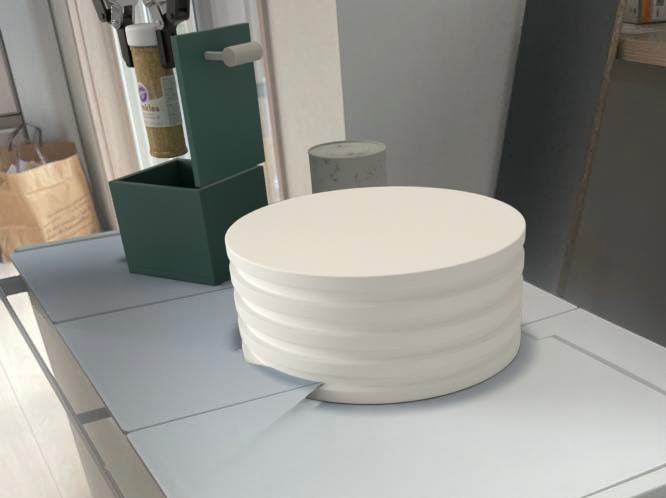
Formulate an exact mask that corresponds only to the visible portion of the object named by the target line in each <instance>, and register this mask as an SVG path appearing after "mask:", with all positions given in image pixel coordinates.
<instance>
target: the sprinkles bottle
mask: <svg viewBox="0 0 666 498" xmlns="http://www.w3.org/2000/svg"><path fill="white" fill-rule="evenodd" d="M156 30H159V29H157V27H156V26H155V23H154V22H139V23H135V24H132V25H128V26H126V27H125V31H126V37H127V42H128V45H129V46H130V50H131V52H132V57H133V62H134V72H135V77H136V82H137V90H138V95H139V101H140V106H141V112H142V118H143V122H144V123H143V124H144V126H145V129H146V135H147V141H148V145H149V146H148V147H149V154H150V156H151V157H153V158H156V159H175V158H179V157H182V156H185V155H187V154H188V152H189V149H188V147H187V142H186V137H185V131H184V124H183V115H182V110H181V104H180V99H179V98H180V97H179V91H178V88H177V81H176V75H175V72H174V68H172V69H164V68H163V67H162V64H161V58H160V53H159V47H158V42H157V37H156Z"/></svg>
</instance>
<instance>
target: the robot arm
mask: <svg viewBox="0 0 666 498" xmlns="http://www.w3.org/2000/svg"><path fill="white" fill-rule="evenodd" d="M91 2H92V4H93V8H94V10H95V12H96V15H97V17H98V19H99V21H100V22H101V23H108V24H109V25H112V27H113V29H115V30H116V33H117V38H118V43H119V49H120V53H121V58H122V60H123V61H124V62H125V65H126V67H127V68H130V69H131V68H132V69H133V68H134V62H133V57H132V52H131V50H130V46H129V45H128V42H127V37H126V31H125V27H126V26H128V25H132V24H136V6H137V5H138V3H139V0H91ZM141 2H142V4H143V6H144V7H146V8H147V9H148V11H149V14H150V16H151V19H152V21H153V23H155V26H156V27H157V29H159V30H156V37H157V42H158V47H159V53H160V58H161V64H162V67H163V68H164V69H172V68H173V69H176V67H175V62H174V56H173V50H172V44H171V38H170V36H175V35H178V30H177V27H178V26H179V25H180V24H181V23H184V22H185V21H186V22H187V21H188V20H190V17H191V16H190V14H191V0H141ZM134 69H135V68H134Z"/></svg>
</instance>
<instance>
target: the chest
mask: <svg viewBox="0 0 666 498" xmlns="http://www.w3.org/2000/svg"><path fill="white" fill-rule="evenodd" d="M265 175H266V174H265V168H264V165H261V164H258V165H256V166H253V167H251V168H248V169H246V170H243V171H241V172H238V173H236V174H233V175H231V176H228V177H226V178H223V179H221V180H218V181H215V182H213V183H210V184H208V185H205V186H203V187H196V185H195V179H194V173H193V167H192V161H191V158H181V157H174V158H171V159H169V160H167V161H164V162H160V163H158V164H154V165H151V166H149V167H146V168H144V169H141V170H138V171H135V172H132V173H129V174H126V175H122V176H120V177H117V178H115V179H112V180H109V181H107V183H108V188H109V192H110V196H111V201H112V205H113V210H114V213H115V217H116V222H117V226H118V231H119V235H120V239H121V243H122V247H123V251H124V255H125V260H126V265H127V268H128V272H129V273H131V274H139V275H144V276H150V277H151V276H152V277H157V278H162V279H163V278H164V279H169V280H177V281H183V282H189V283H195V284H202V285H207V286H215V287H216V286H218V285H220V284H222V283H224V282H225V281H227V280H229V279H231V275H230V268H229V266H230V260H229V258H228V255H227V250H226V244H225V235H226V233H227V231H228V229H229V228H230V227H231V226H232V225H233V224H234V223H235V222H236V221H237V220H239V219H240V218H242V217H243V216H245V215H247V214H249V213H251V212H253V211H255V210H257V209H260V208H262V207H265V206H268V205H269V200H268V199H269V198H268V191H267V185H266V176H265Z"/></svg>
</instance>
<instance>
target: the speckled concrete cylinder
mask: <svg viewBox="0 0 666 498" xmlns="http://www.w3.org/2000/svg"><path fill="white" fill-rule="evenodd" d="M386 150H387V145H385V143H382V142H380V141H376V140H375V141H374V140H366V139H348V140H347V139H346V140H336V141H334V140H333V141H327V142H322V143H318V144H315V145H313V146H311V147H308V149H307V154H308V163H309V173H310V174H309V175H310V184H311V194H315V193H321V192H328V191H335V190H343V189H353V188H366V187H388V179H387V178H388V176H387V174H388V173H387V156H386V155H387V154H386V153H387V152H386Z"/></svg>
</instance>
